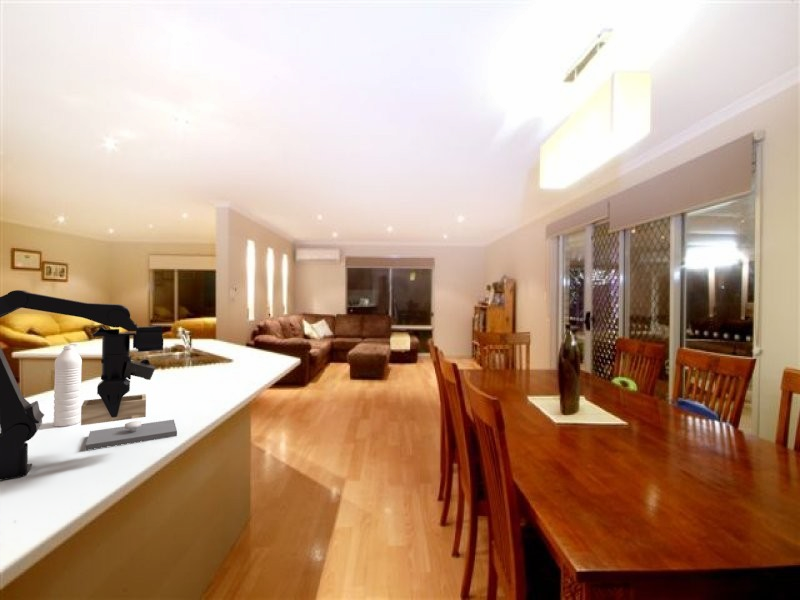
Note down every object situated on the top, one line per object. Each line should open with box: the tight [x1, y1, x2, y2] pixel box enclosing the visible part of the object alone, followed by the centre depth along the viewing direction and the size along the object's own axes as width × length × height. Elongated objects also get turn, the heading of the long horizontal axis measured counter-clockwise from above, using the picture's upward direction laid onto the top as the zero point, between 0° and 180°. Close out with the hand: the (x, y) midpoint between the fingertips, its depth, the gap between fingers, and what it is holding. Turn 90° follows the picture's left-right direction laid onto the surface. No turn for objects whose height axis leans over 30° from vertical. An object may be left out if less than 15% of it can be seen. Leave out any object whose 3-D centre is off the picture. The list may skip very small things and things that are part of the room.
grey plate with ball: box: [84, 419, 178, 451], centre depth 112 cm, size 12×21×4 cm, turn 124°
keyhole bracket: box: [80, 393, 147, 426], centre depth 99 cm, size 6×13×4 cm, turn 124°
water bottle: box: [53, 342, 83, 428], centre depth 122 cm, size 9×6×25 cm
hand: (115, 413), depth 99 cm, fingers closed on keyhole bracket, 6 cm apart
